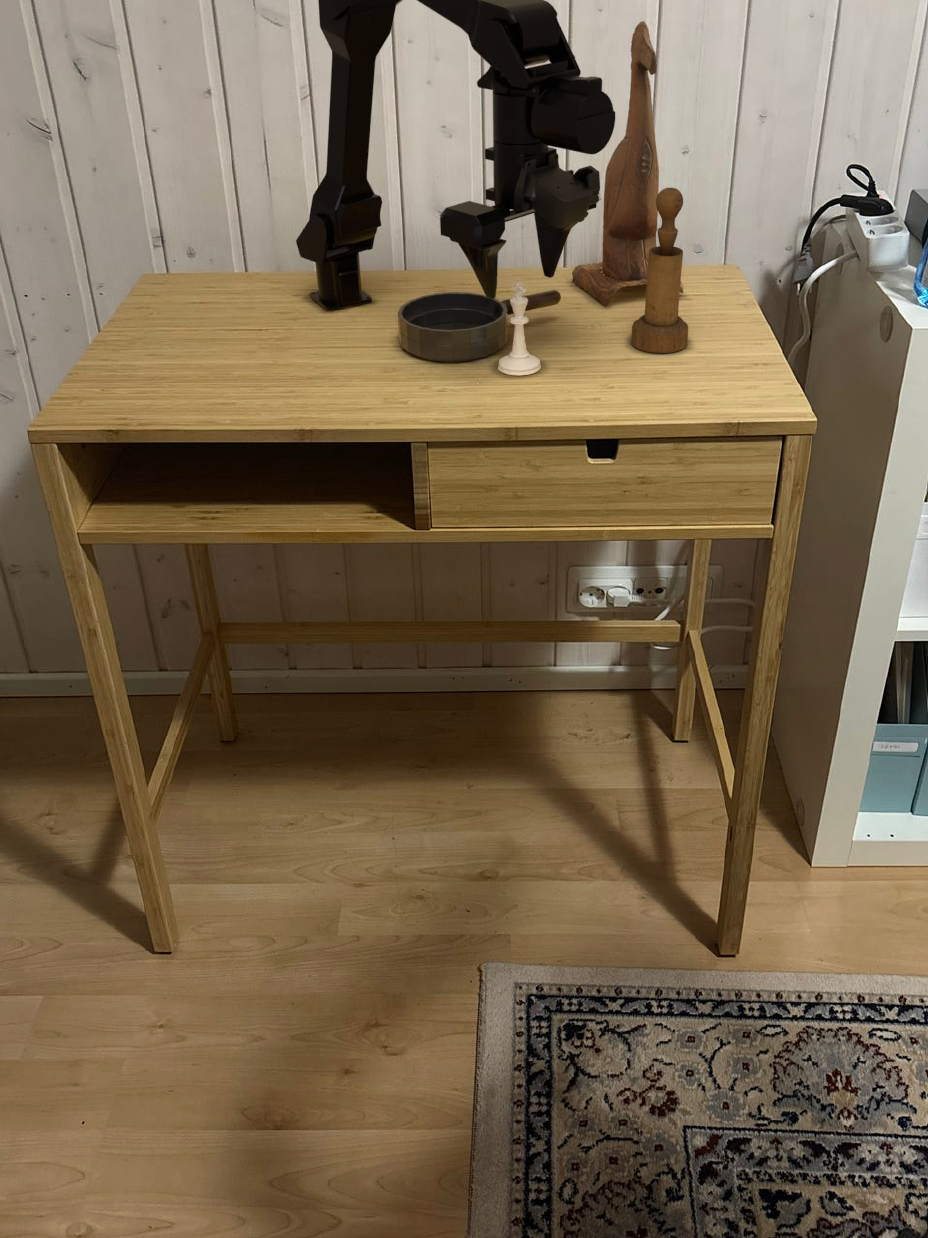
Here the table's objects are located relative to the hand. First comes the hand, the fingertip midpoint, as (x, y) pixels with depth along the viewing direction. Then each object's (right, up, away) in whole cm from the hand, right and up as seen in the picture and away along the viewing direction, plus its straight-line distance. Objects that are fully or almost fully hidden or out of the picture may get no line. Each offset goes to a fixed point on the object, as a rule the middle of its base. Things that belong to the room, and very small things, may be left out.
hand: (520, 286), depth 130 cm
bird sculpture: (+15, +7, +26) cm, 31 cm away
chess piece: (0, -8, +6) cm, 10 cm away
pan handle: (+2, +1, +15) cm, 15 cm away
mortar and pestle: (+17, -4, +11) cm, 21 cm away
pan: (-8, -3, +12) cm, 15 cm away
